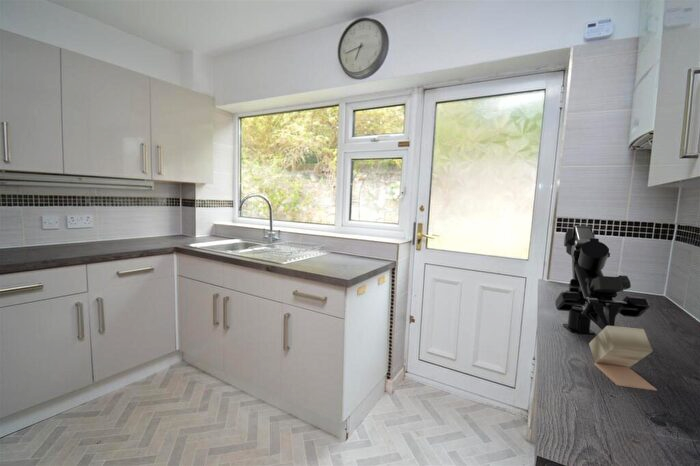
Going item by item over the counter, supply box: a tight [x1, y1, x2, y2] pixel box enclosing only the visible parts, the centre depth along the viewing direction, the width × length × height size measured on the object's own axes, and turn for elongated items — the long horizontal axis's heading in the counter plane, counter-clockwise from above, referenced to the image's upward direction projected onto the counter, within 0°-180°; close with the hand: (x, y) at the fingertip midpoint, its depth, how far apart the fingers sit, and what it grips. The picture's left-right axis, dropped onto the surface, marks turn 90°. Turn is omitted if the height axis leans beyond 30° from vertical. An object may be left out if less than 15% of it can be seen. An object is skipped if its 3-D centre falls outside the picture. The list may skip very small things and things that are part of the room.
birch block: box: [588, 325, 654, 369], centre depth 74 cm, size 5×7×10 cm
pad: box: [593, 362, 658, 392], centre depth 71 cm, size 10×7×1 cm
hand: (610, 335), depth 77 cm, fingers closed
